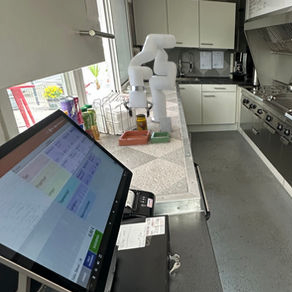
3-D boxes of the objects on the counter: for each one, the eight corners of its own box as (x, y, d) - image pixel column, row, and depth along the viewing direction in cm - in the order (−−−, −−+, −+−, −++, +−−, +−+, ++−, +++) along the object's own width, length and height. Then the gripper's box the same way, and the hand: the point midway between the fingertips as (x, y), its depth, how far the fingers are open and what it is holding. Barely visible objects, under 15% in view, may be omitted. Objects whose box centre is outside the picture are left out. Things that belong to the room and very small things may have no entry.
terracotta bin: (126, 136, 143) (125, 130, 142) (150, 135, 146) (150, 130, 145) (119, 145, 128) (118, 139, 127) (146, 144, 131) (146, 138, 130)
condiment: (143, 135, 146) (141, 116, 141) (132, 133, 148) (129, 115, 143) (151, 132, 152) (149, 113, 148) (140, 130, 154) (137, 112, 150)
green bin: (153, 137, 143) (153, 131, 142) (169, 137, 145) (169, 131, 144) (151, 143, 133) (151, 137, 132) (168, 143, 135) (168, 137, 133)
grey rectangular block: (172, 132, 153) (170, 117, 149) (161, 133, 150) (159, 118, 146) (171, 130, 156) (170, 116, 152) (160, 132, 153) (159, 117, 149)
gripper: (153, 88, 145) (155, 115, 151) (123, 87, 142) (126, 115, 148) (151, 89, 138) (153, 118, 144) (120, 89, 135) (123, 118, 141)
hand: (139, 117), depth 146 cm, fingers open, 9 cm apart
